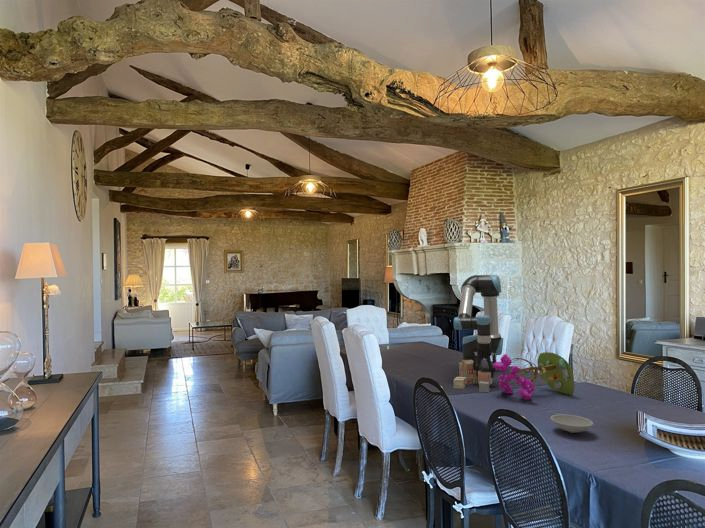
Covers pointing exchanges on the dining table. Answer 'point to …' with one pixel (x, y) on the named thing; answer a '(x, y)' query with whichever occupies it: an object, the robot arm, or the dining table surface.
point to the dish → (571, 422)
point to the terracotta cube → (483, 377)
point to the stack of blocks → (468, 371)
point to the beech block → (460, 382)
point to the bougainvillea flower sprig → (549, 368)
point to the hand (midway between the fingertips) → (485, 382)
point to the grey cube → (484, 386)
